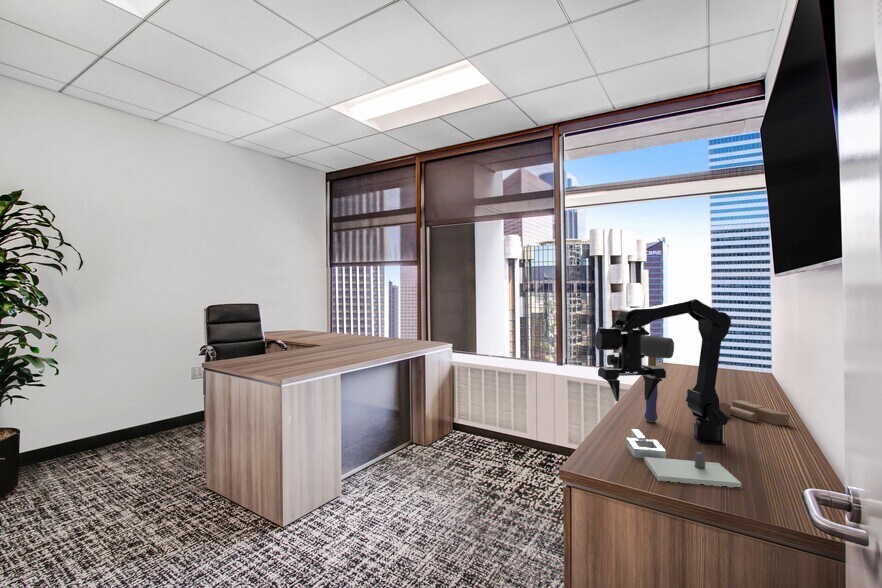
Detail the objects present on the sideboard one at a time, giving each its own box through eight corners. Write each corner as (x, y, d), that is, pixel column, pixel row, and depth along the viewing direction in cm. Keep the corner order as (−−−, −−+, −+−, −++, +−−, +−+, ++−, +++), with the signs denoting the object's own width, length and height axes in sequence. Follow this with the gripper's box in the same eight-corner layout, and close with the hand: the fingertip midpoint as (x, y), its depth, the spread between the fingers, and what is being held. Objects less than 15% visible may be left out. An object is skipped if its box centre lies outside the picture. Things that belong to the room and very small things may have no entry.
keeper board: (718, 467, 106) (718, 448, 105) (741, 488, 95) (741, 466, 95) (644, 461, 109) (644, 442, 109) (657, 480, 98) (658, 459, 98)
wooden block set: (738, 396, 155) (790, 410, 138) (738, 411, 155) (790, 427, 138) (704, 399, 150) (753, 414, 133) (703, 414, 151) (752, 431, 133)
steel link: (621, 438, 125) (621, 428, 125) (648, 440, 124) (649, 430, 124) (634, 457, 111) (634, 446, 111) (665, 460, 110) (665, 449, 110)
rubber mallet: (628, 419, 143) (629, 334, 142) (635, 415, 148) (637, 333, 147) (667, 428, 134) (669, 338, 133) (673, 423, 139) (675, 336, 139)
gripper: (646, 345, 132) (646, 392, 132) (590, 346, 131) (590, 394, 131) (667, 350, 121) (667, 402, 121) (606, 352, 120) (606, 404, 120)
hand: (631, 400), depth 124 cm, fingers open, 9 cm apart
